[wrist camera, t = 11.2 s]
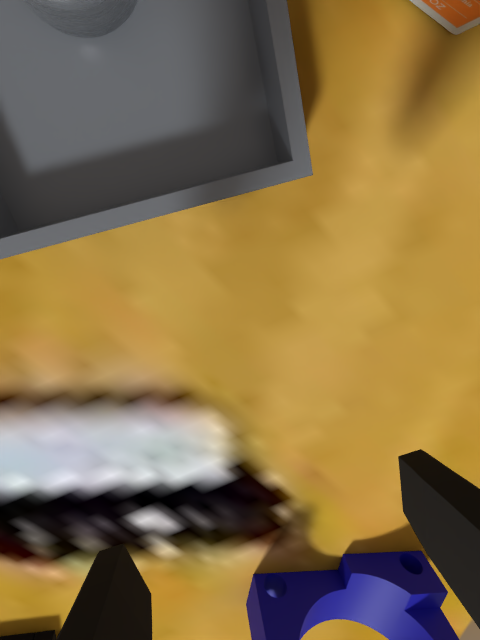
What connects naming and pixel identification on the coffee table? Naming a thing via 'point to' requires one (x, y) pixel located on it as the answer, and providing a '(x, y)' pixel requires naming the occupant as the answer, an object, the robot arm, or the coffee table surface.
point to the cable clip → (353, 598)
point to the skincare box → (452, 13)
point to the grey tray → (143, 116)
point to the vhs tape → (32, 636)
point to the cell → (83, 15)
